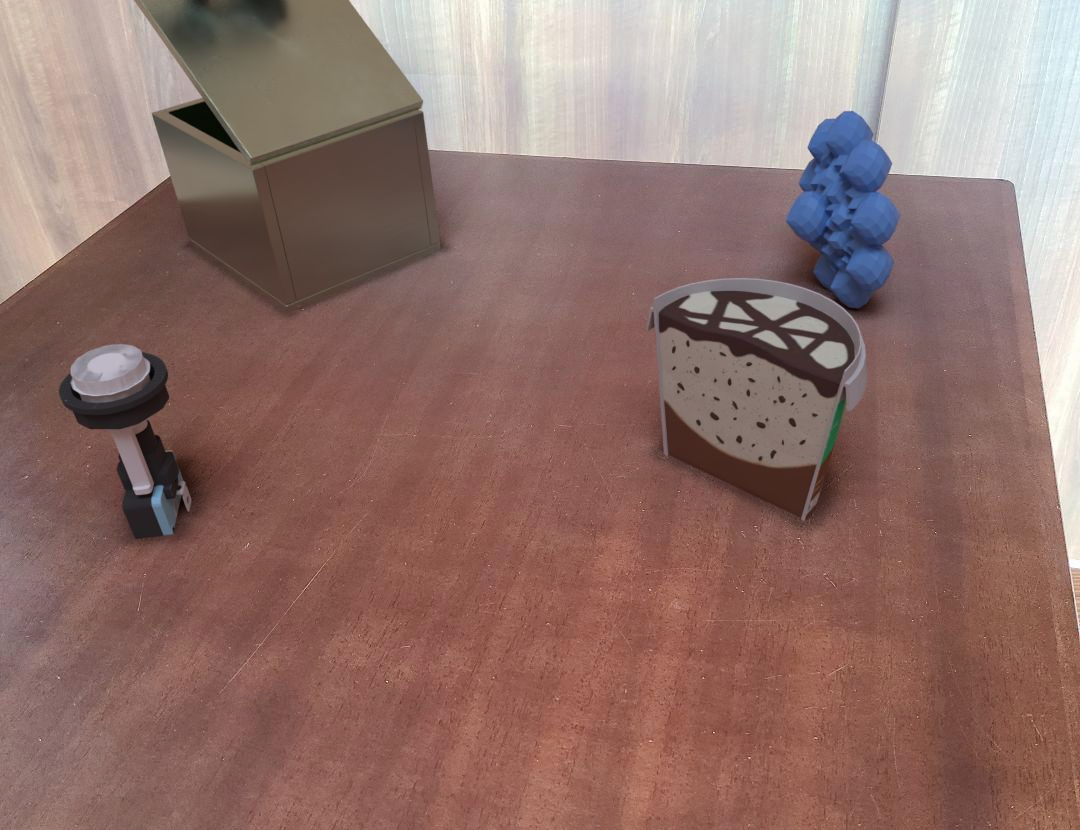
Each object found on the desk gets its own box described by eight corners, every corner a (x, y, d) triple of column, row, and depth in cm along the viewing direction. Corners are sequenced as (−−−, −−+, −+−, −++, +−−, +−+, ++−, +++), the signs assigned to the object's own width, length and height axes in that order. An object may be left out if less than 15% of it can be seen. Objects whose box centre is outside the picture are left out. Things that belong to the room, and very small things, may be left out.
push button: (130, 476, 62) (69, 328, 55) (220, 465, 62) (171, 317, 55) (109, 550, 57) (40, 397, 50) (207, 538, 57) (151, 385, 50)
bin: (192, 248, 84) (150, 112, 77) (336, 195, 91) (310, 65, 83) (288, 316, 75) (252, 169, 68) (442, 252, 81) (423, 111, 74)
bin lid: (119, -20, 70) (115, -89, 65) (296, -61, 76) (303, -126, 72) (250, 166, 68) (255, 108, 63) (421, 109, 74) (437, 52, 69)
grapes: (747, 263, 77) (761, 97, 69) (833, 250, 78) (856, 84, 70) (809, 341, 68) (832, 162, 60) (905, 325, 69) (940, 147, 61)
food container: (887, 480, 57) (921, 320, 51) (828, 537, 54) (856, 375, 48) (706, 401, 64) (715, 251, 57) (643, 448, 61) (645, 295, 54)
